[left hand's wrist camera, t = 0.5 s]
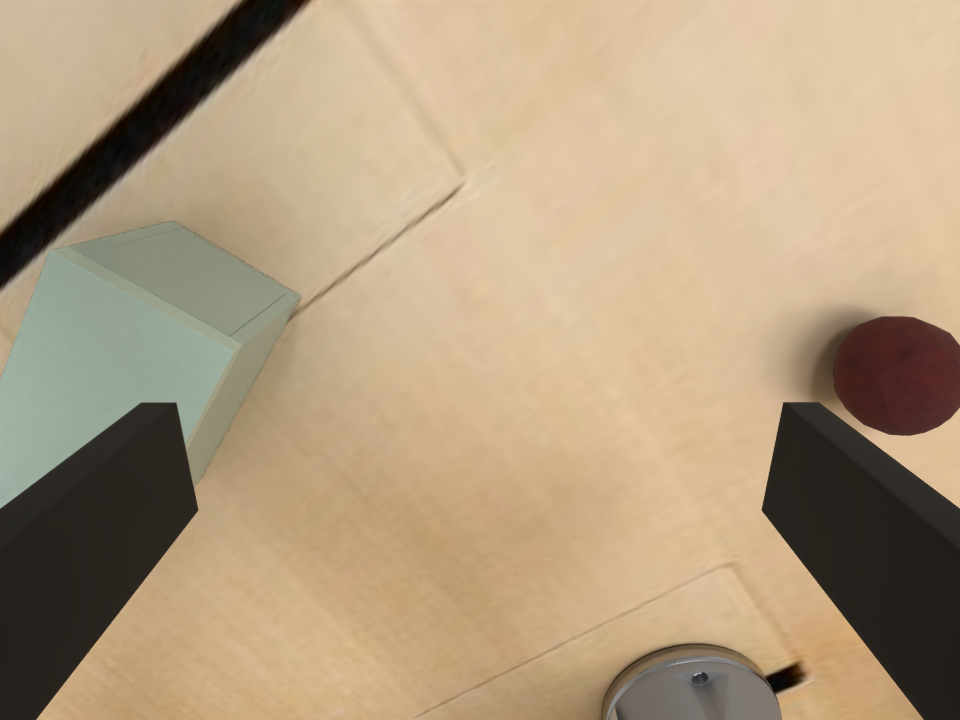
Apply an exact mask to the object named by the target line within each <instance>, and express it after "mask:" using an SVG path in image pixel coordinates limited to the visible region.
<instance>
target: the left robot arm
mask: <svg viewBox="0 0 960 720" xmlns="http://www.w3.org/2000/svg"><path fill="white" fill-rule="evenodd" d="M197 511H198V506H197V501H196V496H195V491H194V486H193V481H192V476H191V471H190V466H189V462H188V457H187V452H186V447H185V442H184V437H183V432H182V427H181V422H180V417H179V412H178V407H177V402H141V403H140V404H138V405H137V406H136V407H134V408H133V409H132V410H130V411H129V412H128V413H126V414H125V415H124V416H122V417H121V418H120V419H119V420H117V421H116V422H115V423H113V424H112V425H111V426H109V427H108V428H107V429H105V430H104V431H103V432H101V433H100V434H99V435H97V436H96V437H95V438H93V439H92V440H91V441H89V442H88V443H87V444H85V445H84V446H83V447H81V448H80V449H79V450H77V451H76V452H75V453H73V454H72V455H71V456H69V457H68V458H67V459H65V460H64V461H63V462H61V463H60V464H59V465H57V466H56V467H55V468H53V469H52V470H51V471H49V472H48V473H47V474H46V475H44V476H43V477H42V478H40V479H39V480H38V481H36V482H35V483H34V484H32V485H31V486H30V487H28V488H27V489H26V490H24V491H23V492H22V493H20V494H19V495H18V496H16V497H15V498H14V499H12V500H11V501H10V502H8V503H7V504H6V505H4V506H3V507H2V508H0V720H36V719H37V718H38V716H39V715H40V714H41V713H42V711H43V710H44V709H45V707H46V706H47V705H48V704H49V702H50V701H51V700H52V698H53V697H54V696H55V695H56V693H57V692H58V691H59V689H60V688H61V687H62V685H63V684H64V683H65V682H66V680H67V679H68V678H69V676H70V675H71V674H72V673H73V671H74V670H75V669H76V667H77V666H78V665H79V664H80V662H81V661H82V660H83V658H84V657H85V656H86V655H87V653H88V652H89V651H90V649H91V648H92V647H93V646H94V644H95V643H96V642H97V640H98V639H99V638H100V636H101V635H102V634H103V633H104V631H105V630H106V629H107V627H108V626H109V625H110V624H111V622H112V621H113V620H114V618H115V617H116V616H117V615H118V613H119V612H120V611H121V609H122V608H123V607H124V606H125V604H126V603H127V602H128V600H129V599H130V598H131V597H132V595H133V594H134V593H135V591H136V590H137V589H138V587H139V586H140V585H141V584H142V582H143V581H144V580H145V578H146V577H147V576H148V575H149V573H150V572H151V571H152V569H153V568H154V567H155V566H156V564H157V563H158V562H159V560H160V559H161V558H162V557H163V555H164V554H165V553H166V551H167V550H168V549H169V548H170V546H171V545H172V544H173V542H174V541H175V540H176V538H177V537H178V536H179V535H180V533H181V532H182V531H183V529H184V528H185V527H186V526H187V524H188V523H189V522H190V520H191V519H192V518H193V517H194V515H195V514H196V513H197ZM762 511H763V513H764V514H765V515H766V517H767V518H768V519H769V520H770V522H771V523H772V524H773V526H774V527H775V528H776V529H777V531H778V532H779V533H780V535H781V536H782V537H783V538H784V540H785V541H786V542H787V544H788V545H789V546H790V548H791V549H792V550H793V551H794V553H795V554H796V555H797V557H798V558H799V559H800V560H801V562H802V563H803V564H804V566H805V567H806V568H807V569H808V571H809V572H810V573H811V575H812V576H813V577H814V578H815V580H816V581H817V582H818V584H819V585H820V586H821V587H822V589H823V590H824V591H825V593H826V594H827V595H828V597H829V598H830V599H831V600H832V602H833V603H834V604H835V606H836V607H837V608H838V609H839V611H840V612H841V613H842V615H843V616H844V617H845V618H846V620H847V621H848V622H849V624H850V625H851V626H852V627H853V629H854V630H855V631H856V633H857V634H858V635H859V636H860V638H861V639H862V640H863V642H864V643H865V644H866V646H867V647H868V648H869V649H870V651H871V652H872V653H873V655H874V656H875V657H876V658H877V660H878V661H879V662H880V664H881V665H882V666H883V667H884V669H885V670H886V671H887V673H888V674H889V675H890V676H891V678H892V679H893V680H894V682H895V683H896V684H897V685H898V687H899V688H900V689H901V691H902V692H903V693H904V695H905V696H906V697H907V698H908V700H909V701H910V702H911V704H912V705H913V706H914V707H915V709H916V710H917V711H918V713H919V714H920V715H921V716H922V718H923V719H924V720H960V508H958V507H957V506H956V505H954V504H953V503H952V502H950V501H949V500H948V499H946V498H945V497H944V496H942V495H941V494H940V493H938V492H937V491H936V490H934V489H933V488H932V487H930V486H929V485H928V484H926V483H925V482H924V481H922V480H921V479H920V478H918V477H917V476H916V475H914V474H913V473H912V472H911V471H909V470H908V469H907V468H905V467H904V466H903V465H901V464H900V463H899V462H897V461H896V460H895V459H893V458H892V457H891V456H889V455H888V454H887V453H885V452H884V451H883V450H881V449H880V448H879V447H877V446H876V445H875V444H873V443H872V442H871V441H869V440H868V439H867V438H865V437H864V436H863V435H861V434H860V433H859V432H857V431H856V430H855V429H853V428H852V427H851V426H849V425H848V424H847V423H845V422H844V421H843V420H841V419H840V418H839V417H838V416H836V415H835V414H834V413H832V412H831V411H830V410H828V409H827V408H826V407H824V406H823V405H822V404H820V403H819V402H783V407H782V412H781V417H780V422H779V427H778V432H777V437H776V442H775V447H774V452H773V457H772V462H771V466H770V471H769V476H768V481H767V486H766V491H765V496H764V501H763V506H762Z"/></svg>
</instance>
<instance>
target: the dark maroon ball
mask: <svg viewBox="0 0 960 720" xmlns="http://www.w3.org/2000/svg"><path fill="white" fill-rule="evenodd" d="M833 374H834V387H835V391H836V393H837V395H838V397H839V399H840V400H841V402H842V403H843V405H844V406H845V408H846V409H847V410H848V411H849V412H850V413H851V414H852V415H853V416H854V417H855V418H856V419H858V420H859V421H860V422H861V423H863V424H864V425H866V426H869V427H871V428H874V429H876V430H879V431H881V432H884V433H886V434H889V435H902V436H911V435H915V434H920V433H925V432H927V431H929V430H932V429H934V428H936V427H939V426H940V425H942V424H943V423H944V422H946V421H947V420H949V419H950V418H951V417H952V416H953V415H954V414H955V413H956V411H957V410H958V409H959V408H960V345H959V344H958V343H957V341H956V340H955V339H954V338H953V336H952V335H951V334H950V333H948V332H946V331H944V330H942V329H940V328H938V327H936V326H934V325H932V324H929V323H927V322H924V321H921V320H919V319H916V318H914V317H903V316H902V317H879V318H876V319H873V320H871V321H868V322H865V323H863V324H860V325H859V326H858V327H857V328H855V329H854V330H853V331H852V332H850V333H849V334H848V335H847V337H846V338H845V340H844V341H843V343H842V344H841V346H840V348H839V351H838V355H837V358H836V362H835V365H834V370H833Z"/></svg>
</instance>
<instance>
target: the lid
mask: <svg viewBox="0 0 960 720" xmlns="http://www.w3.org/2000/svg"><path fill="white" fill-rule="evenodd" d="M242 345H243V344H241V343H239V342H238V341H236V340H234V339H232V338H230V337H229V336H227V335H225V334H223V333H221V332H220V331H218V330H216V329H214V328H213V327H211V326H209V325H207V324H205V323H204V322H202V321H200V320H198V319H196V318H195V317H193V316H191V315H189V314H187V313H186V312H184V311H182V310H180V309H179V308H177V307H175V306H173V305H171V304H170V303H168V302H166V301H164V300H162V299H161V298H159V297H157V296H155V295H154V294H152V293H150V292H148V291H146V290H145V289H143V288H141V287H139V286H137V285H136V284H134V283H132V282H130V281H129V280H127V279H125V278H123V277H121V276H120V275H118V274H116V273H114V272H112V271H111V270H109V269H107V268H105V267H104V266H102V265H100V264H98V263H96V262H95V261H93V260H91V259H89V258H87V257H86V256H84V255H82V254H80V253H79V252H77V251H75V250H73V249H71V248H70V247H68V246H65V247H61V248H57V249H52V250H50V251H49V253H48V256H47V259H46V261H45V264H44V266H43V269H42V272H41V274H40V277H39V279H38V282H37V285H36V287H35V290H34V293H33V295H32V298H31V300H30V303H29V306H28V308H27V311H26V313H25V316H24V319H23V321H22V324H21V326H20V329H19V332H18V334H17V337H16V339H15V342H14V345H13V347H12V350H11V353H10V355H9V358H8V360H7V363H6V366H5V368H4V371H3V373H2V376H1V379H0V508H2V507H3V506H4V505H6V504H7V503H8V502H10V501H11V500H12V499H14V498H15V497H16V496H18V495H19V494H20V493H22V492H23V491H24V490H26V489H27V488H28V487H30V486H31V485H32V484H34V483H35V482H36V481H38V480H39V479H40V478H42V477H43V476H44V475H46V474H47V473H48V472H49V471H51V470H52V469H53V468H55V467H56V466H57V465H59V464H60V463H61V462H63V461H64V460H65V459H67V458H68V457H69V456H71V455H72V454H73V453H75V452H76V451H77V450H79V449H80V448H81V447H83V446H84V445H85V444H87V443H88V442H89V441H91V440H92V439H93V438H95V437H96V436H97V435H99V434H100V433H101V432H103V431H104V430H105V429H107V428H108V427H109V426H111V425H112V424H113V423H115V422H116V421H117V420H119V419H120V418H121V417H122V416H124V415H125V414H126V413H128V412H129V411H130V410H132V409H133V408H134V407H136V406H137V405H138V404H140V403H141V402H177V407H178V412H179V417H180V422H181V427H182V432H183V437H184V442H185V447H186V451H187V449H188V447H189V445H190V444H191V442H192V440H193V438H194V436H195V434H196V432H197V430H198V429H199V427H200V425H201V423H202V421H203V419H204V417H205V415H206V413H207V412H208V410H209V408H210V406H211V404H212V402H213V400H214V398H215V396H216V395H217V393H218V391H219V389H220V387H221V385H222V383H223V381H224V379H225V378H226V376H227V374H228V372H229V370H230V368H231V366H232V364H233V362H234V361H235V359H236V357H237V355H238V353H239V351H240V349H241V347H242Z"/></svg>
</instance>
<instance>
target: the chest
mask: <svg viewBox="0 0 960 720" xmlns="http://www.w3.org/2000/svg"><path fill="white" fill-rule="evenodd" d="M68 247H70V248H71V249H73V250H75V251H77V252H79V253H80V254H82V255H84V256H86V257H87V258H89V259H91V260H93V261H95V262H96V263H98V264H100V265H102V266H104V267H105V268H107V269H109V270H111V271H112V272H114V273H116V274H118V275H120V276H121V277H123V278H125V279H127V280H129V281H130V282H132V283H134V284H136V285H137V286H139V287H141V288H143V289H145V290H146V291H148V292H150V293H152V294H154V295H155V296H157V297H159V298H161V299H162V300H164V301H166V302H168V303H170V304H171V305H173V306H175V307H177V308H179V309H180V310H182V311H184V312H186V313H187V314H189V315H191V316H193V317H195V318H196V319H198V320H200V321H202V322H204V323H205V324H207V325H209V326H211V327H213V328H214V329H216V330H218V331H220V332H221V333H223V334H225V335H227V336H229V337H230V338H232V339H234V340H236V341H238V342H239V343H241V344H243V345H242V347H241V349H240V351H239V353H238V355H237V357H236V359H235V361H234V362H233V364H232V366H231V368H230V370H229V372H228V374H227V376H226V378H225V379H224V381H223V383H222V385H221V387H220V389H219V391H218V393H217V395H216V396H215V398H214V400H213V402H212V404H211V406H210V408H209V410H208V412H207V413H206V415H205V417H204V419H203V421H202V423H201V425H200V427H199V429H198V430H197V432H196V434H195V436H194V438H193V440H192V442H191V444H190V445H189V447H188V449H187V451H186V452H187V457H188V462H189V466H190V471H191V476H192V481H193V486H194V487H195V486H196V485H197V483H198V482H199V481H200V479H201V477H202V476H203V474H204V472H205V470H206V468H207V467H208V465H209V463H210V461H211V459H212V457H213V456H214V454H215V452H216V450H217V448H218V447H219V445H220V443H221V441H222V439H223V437H224V436H225V434H226V432H227V430H228V428H229V427H230V425H231V423H232V421H233V419H234V417H235V416H236V414H237V412H238V410H239V408H240V407H241V405H242V403H243V401H244V399H245V398H246V396H247V394H248V392H249V390H250V388H251V387H252V385H253V383H254V381H255V379H256V378H257V376H258V374H259V372H260V370H261V368H262V367H263V365H264V363H265V361H266V359H267V358H268V356H269V354H270V352H271V350H272V348H273V347H274V345H275V343H276V341H277V339H278V338H279V336H280V334H281V332H282V330H283V328H284V327H285V325H286V323H287V321H288V319H289V318H290V316H291V314H292V312H293V310H294V308H295V307H296V305H297V303H298V301H299V299H300V298H301V296H300V295H298V294H297V293H295V292H293V291H292V290H290V289H288V288H287V287H285V286H283V285H281V284H280V283H278V282H276V281H275V280H273V279H271V278H270V277H268V276H266V275H264V274H263V273H261V272H259V271H258V270H256V269H254V268H253V267H251V266H249V265H248V264H246V263H244V262H242V261H241V260H239V259H237V258H236V257H234V256H232V255H231V254H229V253H227V252H225V251H224V250H222V249H220V248H219V247H217V246H215V245H214V244H212V243H210V242H208V241H207V240H205V239H203V238H202V237H200V236H198V235H197V234H195V233H193V232H192V231H190V230H188V229H186V228H185V227H183V226H181V225H180V224H178V223H176V222H175V221H170V222H166V223H162V224H158V225H153V226H149V227H145V228H141V229H137V230H132V231H128V232H124V233H120V234H116V235H112V236H107V237H103V238H99V239H95V240H91V241H86V242H82V243H78V244H74V245H70V246H68Z"/></svg>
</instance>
